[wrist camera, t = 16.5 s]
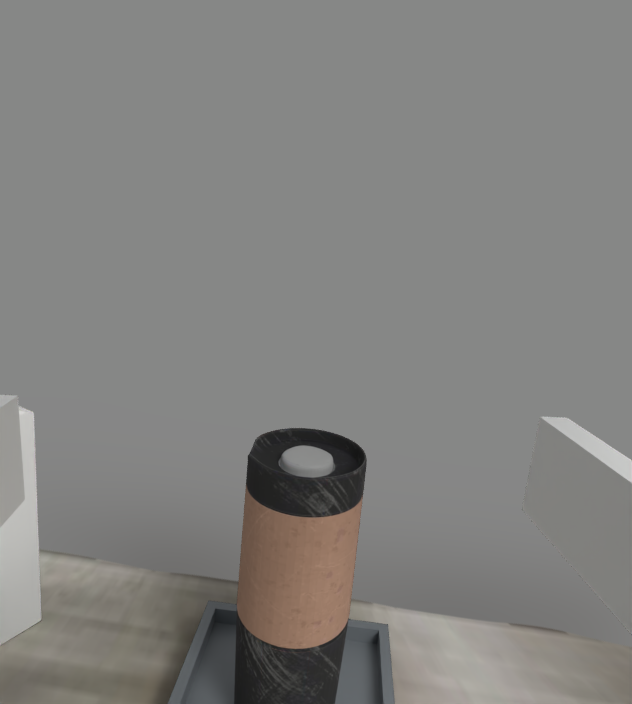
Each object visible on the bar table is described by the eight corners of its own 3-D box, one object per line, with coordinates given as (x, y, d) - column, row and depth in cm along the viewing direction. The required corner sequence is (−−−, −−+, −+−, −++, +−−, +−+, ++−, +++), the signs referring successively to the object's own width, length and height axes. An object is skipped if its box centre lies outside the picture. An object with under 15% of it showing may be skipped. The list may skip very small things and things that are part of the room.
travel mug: (358, 717, 37) (394, 459, 32) (272, 786, 32) (300, 492, 27) (292, 648, 42) (314, 419, 37) (209, 697, 37) (223, 440, 32)
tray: (384, 645, 44) (387, 624, 44) (400, 860, 29) (405, 831, 29) (207, 621, 45) (208, 600, 44) (132, 819, 30) (133, 790, 29)
